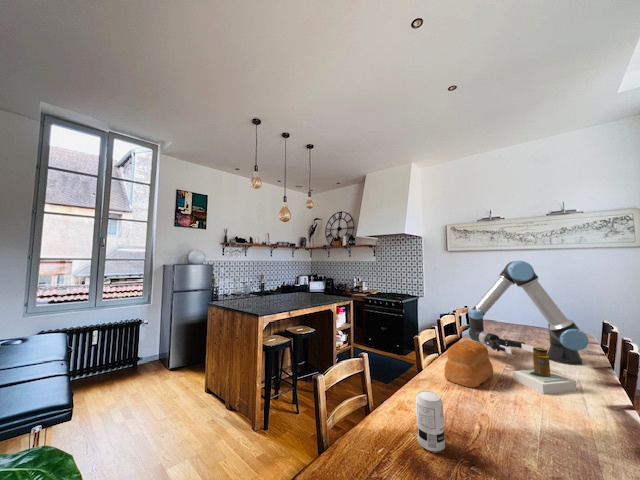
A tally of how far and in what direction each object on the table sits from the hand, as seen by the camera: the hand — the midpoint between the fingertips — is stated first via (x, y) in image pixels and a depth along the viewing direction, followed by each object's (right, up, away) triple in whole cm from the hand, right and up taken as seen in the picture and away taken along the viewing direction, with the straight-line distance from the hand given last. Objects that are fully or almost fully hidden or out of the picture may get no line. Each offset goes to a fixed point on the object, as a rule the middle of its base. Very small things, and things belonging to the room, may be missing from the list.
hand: (522, 350), depth 136 cm
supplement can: (-69, -9, -52) cm, 87 cm away
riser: (+2, -12, -11) cm, 16 cm away
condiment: (+1, -7, -11) cm, 13 cm away
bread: (-29, -13, -2) cm, 32 cm away
